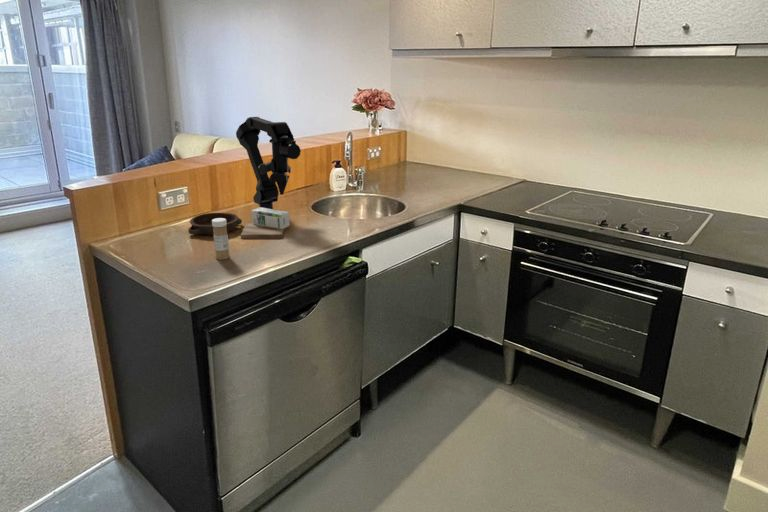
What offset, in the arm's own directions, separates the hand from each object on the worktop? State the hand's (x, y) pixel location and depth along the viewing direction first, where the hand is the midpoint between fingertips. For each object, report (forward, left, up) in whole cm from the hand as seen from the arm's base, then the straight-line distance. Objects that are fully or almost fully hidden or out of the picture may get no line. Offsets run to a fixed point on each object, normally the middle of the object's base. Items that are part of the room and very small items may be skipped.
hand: (281, 194), depth 210 cm
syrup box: (+11, +2, -8) cm, 13 cm away
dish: (+9, -25, -12) cm, 29 cm away
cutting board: (+11, -6, -12) cm, 17 cm away
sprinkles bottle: (+39, -16, -12) cm, 44 cm away
